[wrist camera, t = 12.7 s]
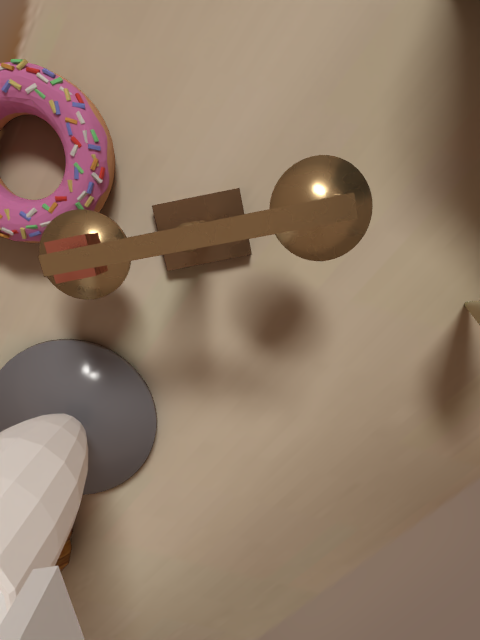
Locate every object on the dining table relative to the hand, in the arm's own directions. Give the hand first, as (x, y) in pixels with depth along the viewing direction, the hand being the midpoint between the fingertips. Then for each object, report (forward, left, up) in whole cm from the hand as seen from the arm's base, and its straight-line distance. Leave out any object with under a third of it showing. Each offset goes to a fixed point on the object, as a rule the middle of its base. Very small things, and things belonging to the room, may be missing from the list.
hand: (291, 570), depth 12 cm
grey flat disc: (+7, -20, -31) cm, 38 cm away
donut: (-18, -16, -32) cm, 40 cm away
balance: (-9, -3, -31) cm, 33 cm away
